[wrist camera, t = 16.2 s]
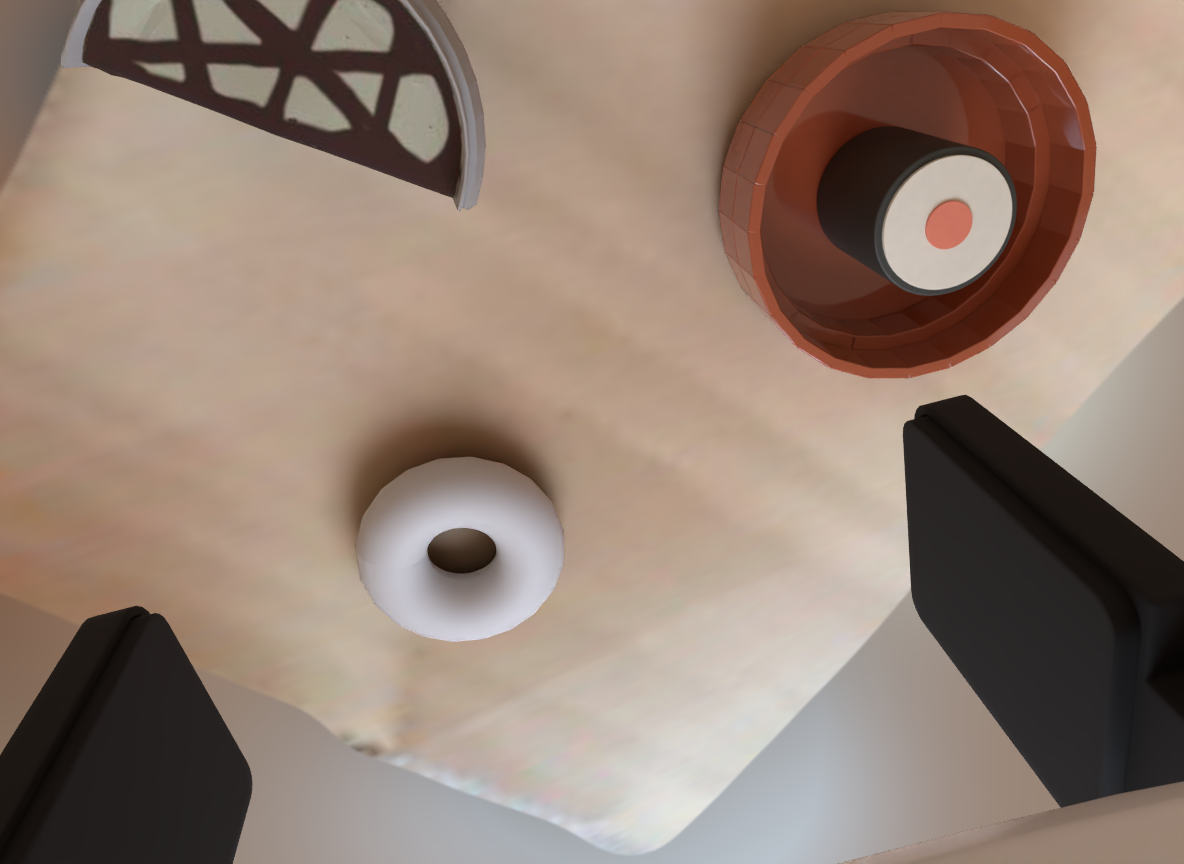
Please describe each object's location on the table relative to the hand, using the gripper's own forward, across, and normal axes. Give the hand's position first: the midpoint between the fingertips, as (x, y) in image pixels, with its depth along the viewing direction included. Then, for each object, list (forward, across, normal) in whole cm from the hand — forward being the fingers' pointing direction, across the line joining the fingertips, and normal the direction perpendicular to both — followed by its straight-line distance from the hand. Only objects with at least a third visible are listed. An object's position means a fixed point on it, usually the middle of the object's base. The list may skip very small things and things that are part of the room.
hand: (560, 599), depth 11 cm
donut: (+28, +6, +16) cm, 33 cm away
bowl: (+28, -16, +4) cm, 33 cm away
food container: (+28, +4, -7) cm, 30 cm away
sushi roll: (+28, -16, +4) cm, 32 cm away
